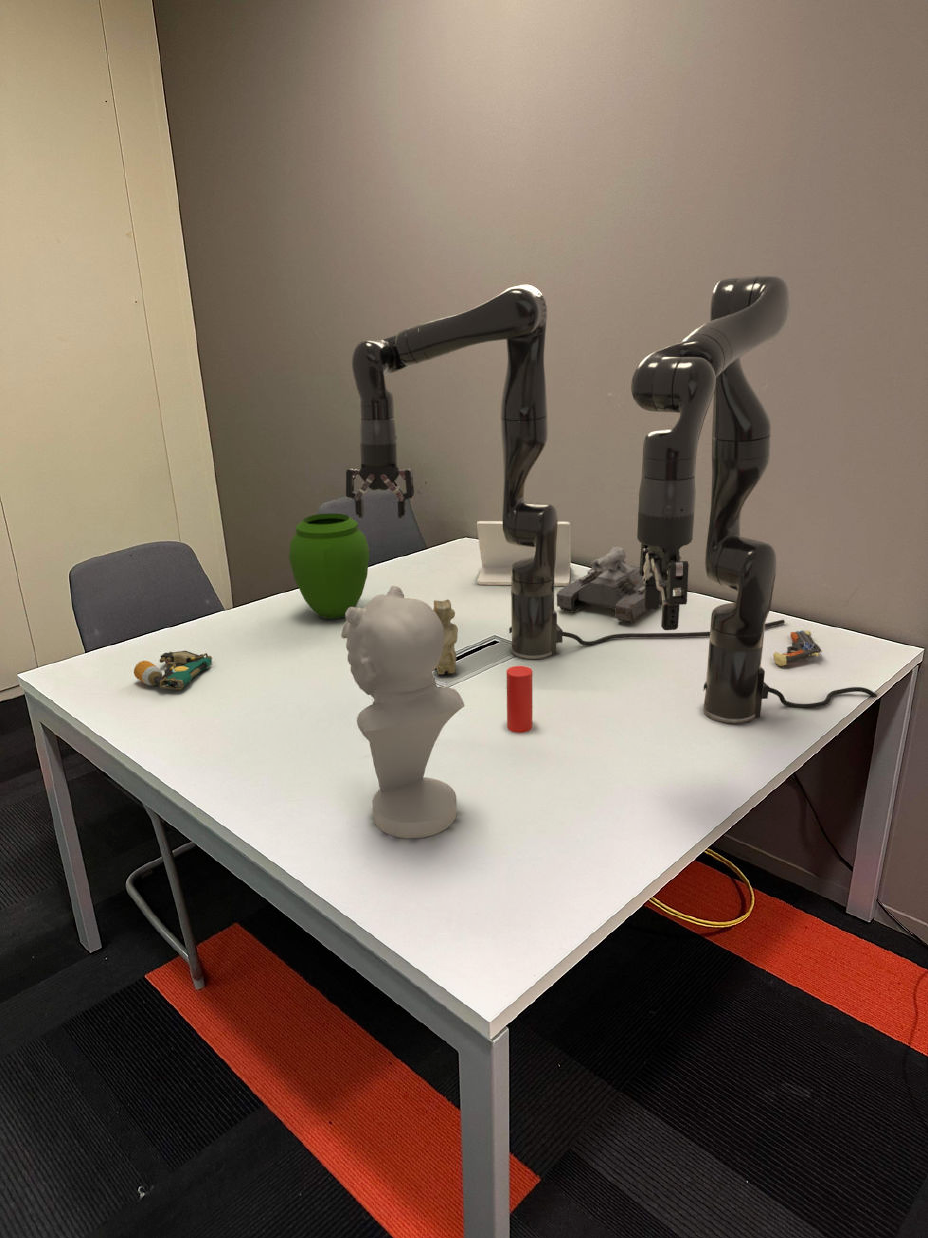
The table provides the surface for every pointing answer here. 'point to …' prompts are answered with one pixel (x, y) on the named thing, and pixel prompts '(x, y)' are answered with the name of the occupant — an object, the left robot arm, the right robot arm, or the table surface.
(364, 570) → the vase
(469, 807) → the table surface
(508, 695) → the red cylinder
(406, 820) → the bust sculpture
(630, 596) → the toy
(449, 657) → the sculpture
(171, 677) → the spray gun
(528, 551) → the tablet stand
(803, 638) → the toy gun
